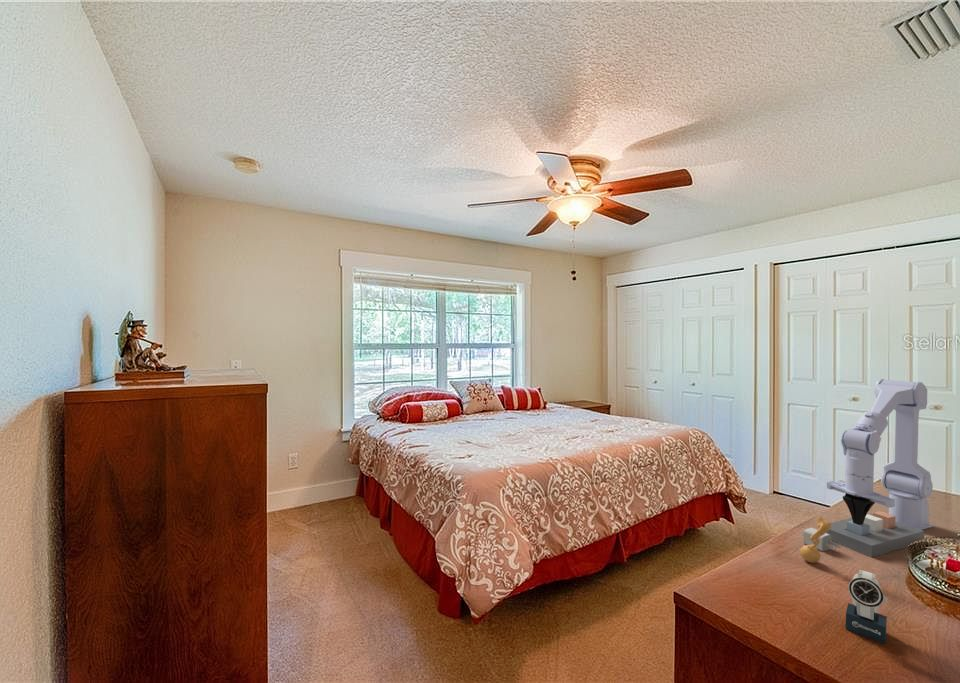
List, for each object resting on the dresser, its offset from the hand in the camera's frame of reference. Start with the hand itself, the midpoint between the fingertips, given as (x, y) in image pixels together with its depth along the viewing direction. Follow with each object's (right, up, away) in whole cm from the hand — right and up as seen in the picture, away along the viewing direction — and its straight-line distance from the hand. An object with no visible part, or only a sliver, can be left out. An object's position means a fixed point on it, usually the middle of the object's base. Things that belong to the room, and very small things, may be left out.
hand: (858, 523), depth 115 cm
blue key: (0, -3, 0) cm, 3 cm away
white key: (+6, -3, +2) cm, 7 cm away
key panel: (+6, -5, +2) cm, 8 cm away
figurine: (-20, -5, -11) cm, 24 cm away
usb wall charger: (-13, -6, -3) cm, 14 cm away
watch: (-30, -6, -35) cm, 46 cm away
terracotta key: (+11, -3, +4) cm, 12 cm away
